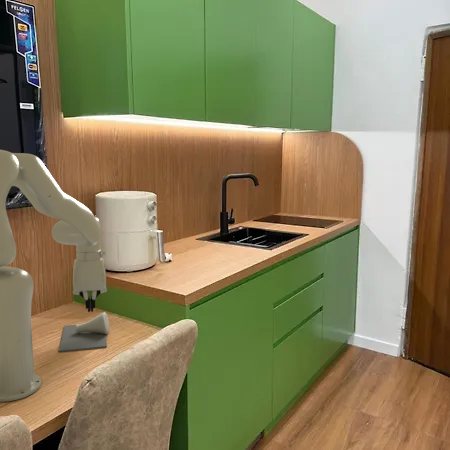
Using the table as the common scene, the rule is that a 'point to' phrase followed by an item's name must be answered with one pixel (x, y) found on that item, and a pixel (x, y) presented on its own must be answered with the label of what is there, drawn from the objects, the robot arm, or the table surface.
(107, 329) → the flask
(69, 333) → the mat
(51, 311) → the table surface
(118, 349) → the table surface
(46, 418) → the table surface
